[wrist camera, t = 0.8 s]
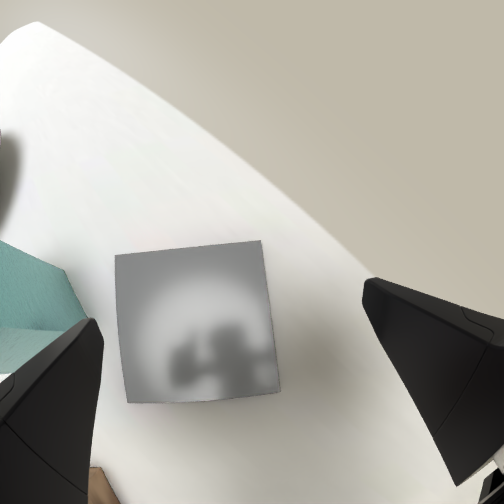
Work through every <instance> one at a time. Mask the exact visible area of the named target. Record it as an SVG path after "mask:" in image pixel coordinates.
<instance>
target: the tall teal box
mask: <svg viewBox="0 0 504 504" xmlns="http://www.w3.org/2000/svg"><path fill="white" fill-rule="evenodd" d="M84 318H87V316H86V314H85V313H84V311H83V309H82V307H81V305H80V303H79V301H78V299H77V297H76V295H75V293H74V291H73V289H72V287H71V285H70V283H69V281H68V279H67V277H66V274H65V272H64V270H62V269H60V268H57V267H55V266H53V265H51V264H48V263H46V262H44V261H42V260H40V259H37V258H35V257H33V256H31V255H29V254H27V253H25V252H23V251H21V250H19V249H17V248H15V247H13V246H10V245H9V244H7V243H5V242H3V241H1V240H0V374H7V373H15V371H16V370H17V369H18V368H20V367H21V366H22V365H23V364H25V363H26V362H27V361H28V360H30V359H31V358H32V357H33V356H35V355H36V354H37V353H38V352H40V351H41V350H42V349H44V348H45V347H46V346H47V345H49V344H50V343H51V342H53V341H54V340H55V339H56V338H58V337H59V336H60V335H62V334H63V333H64V332H66V331H67V330H68V329H70V328H71V327H72V326H74V325H75V324H76V323H78V322H79V321H80V320H82V319H84Z"/></svg>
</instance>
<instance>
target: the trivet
mask: <svg viewBox="0 0 504 504" xmlns="http://www.w3.org/2000/svg"><path fill="white" fill-rule="evenodd" d="M115 289H116V309H117V323H118V335H119V345H120V354H121V362H122V370H123V377H124V383H125V390H126V396H127V402H128V403H180V402H198V401H212V400H223V399H233V398H242V397H250V396H257V395H264V394H271V393H277V392H281V391H280V383H279V375H278V367H277V359H276V351H275V344H274V336H273V328H272V320H271V313H270V305H269V298H268V290H267V283H266V275H265V268H264V260H263V253H262V246H261V240H259V241H249V242H239V243H228V244H218V245H208V246H198V247H189V248H179V249H169V250H159V251H150V252H141V253H131V254H122V255H115Z"/></svg>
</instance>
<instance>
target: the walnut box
mask: <svg viewBox="0 0 504 504" xmlns="http://www.w3.org/2000/svg"><path fill="white" fill-rule="evenodd" d="M88 504H120V503H119V501H118V499H117V497H116V496H115V494H114V492H113V490H112V488H111V487H110V485H109V483H108V481H107V479H106V477H105V475H104V473H103V471H102V469H101V467H99V468H89V485H88Z"/></svg>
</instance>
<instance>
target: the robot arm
mask: <svg viewBox="0 0 504 504" xmlns="http://www.w3.org/2000/svg"><path fill="white" fill-rule="evenodd" d="M362 305H363V308H364V310H365V312H366V314H367V316H368V318H369V320H370V323H371V325H372V327H373V329H374V331H375V333H376V336H377V338H378V340H379V341H380V343H381V345H382V347H383V348H384V350H385V352H386V354H387V355H388V357H389V359H390V360H391V362H392V364H393V366H394V367H395V369H396V371H397V372H398V374H399V376H400V378H401V380H402V381H403V383H404V385H405V387H406V388H407V390H408V392H409V394H410V396H411V398H412V399H413V401H414V403H415V405H416V407H417V409H418V410H419V412H420V414H421V416H422V418H423V420H424V422H425V424H426V426H427V428H428V430H429V432H430V433H431V435H432V437H433V440H434V442H435V444H436V446H437V448H438V450H439V452H440V454H441V456H442V458H443V460H444V462H445V464H446V466H447V469H448V471H449V473H450V475H451V477H452V479H453V482H454V484H455V485H456V487H457V486H459V485H460V484H462V483H463V482H465V481H466V480H468V479H469V478H470V477H472V476H473V475H474V474H476V473H477V472H478V471H480V470H481V469H482V468H483V467H485V466H486V465H487V464H488V463H490V462H491V461H492V460H494V462H495V463H496V465H497V466H498V468H497V469H496V470H495V471H493V472H492V473H491V474H490V475H489V476H487V477H486V478H485V479H484V482H483V486H482V490H481V494H480V498H479V502H478V504H504V319H501V318H497V317H494V316H490V315H487V314H484V313H480V312H477V311H474V310H471V309H468V308H465V307H462V306H459V305H457V304H454V303H451V302H448V301H445V300H442V299H439V298H436V297H433V296H430V295H428V294H425V293H421V292H419V291H416V290H413V289H410V288H407V287H404V286H401V285H398V284H395V283H392V282H389V281H386V280H383V279H380V278H377V277H375V278H370V279H367V280H366V281H365V282H364V289H363V297H362ZM103 350H104V339H103V336H102V334H101V332H100V329H99V327H98V324H97V322H96V320H95V319H94V318H84V319H82V320H80V321H79V322H78V323H76V324H75V325H74V326H72V327H71V328H70V329H68V330H67V331H66V332H64V333H63V334H62V335H60V336H59V337H58V338H56V339H55V340H54V341H53V342H51V343H50V344H49V345H47V346H46V347H45V348H44V349H42V350H41V351H40V352H38V353H37V354H36V355H35V356H33V357H32V358H31V359H30V360H28V361H27V362H26V363H25V364H23V365H22V366H21V367H20V368H18V369H17V370H16V371H15V373H12V374H11V375H10V376H8V377H7V378H6V379H5V380H4V381H2V382H1V383H0V504H88V485H89V468H90V456H91V446H92V437H93V429H94V421H95V414H96V407H97V401H98V395H99V389H100V383H101V373H102V360H103Z"/></svg>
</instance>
